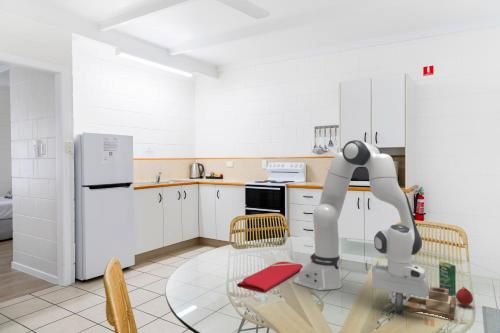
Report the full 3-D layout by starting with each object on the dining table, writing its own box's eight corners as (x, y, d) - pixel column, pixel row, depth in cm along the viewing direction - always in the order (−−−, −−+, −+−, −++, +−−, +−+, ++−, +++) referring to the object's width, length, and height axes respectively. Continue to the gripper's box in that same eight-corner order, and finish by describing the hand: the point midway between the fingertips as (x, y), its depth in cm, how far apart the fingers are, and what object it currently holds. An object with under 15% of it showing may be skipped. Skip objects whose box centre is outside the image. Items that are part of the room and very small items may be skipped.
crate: (425, 311, 138) (426, 291, 138) (428, 305, 145) (428, 285, 145) (449, 316, 134) (449, 295, 134) (450, 309, 141) (451, 289, 140)
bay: (398, 309, 142) (398, 296, 142) (403, 299, 152) (403, 287, 152) (454, 321, 131) (454, 307, 131) (455, 309, 141) (455, 297, 141)
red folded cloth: (236, 287, 167) (236, 279, 167) (278, 266, 202) (278, 259, 202) (265, 294, 159) (265, 285, 159) (303, 271, 193) (303, 264, 193)
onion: (466, 303, 148) (466, 284, 148) (476, 309, 142) (476, 289, 142) (453, 303, 148) (453, 284, 148) (461, 309, 142) (461, 289, 142)
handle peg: (395, 313, 138) (395, 287, 138) (396, 311, 140) (396, 285, 140) (402, 315, 136) (402, 288, 136) (403, 312, 138) (403, 286, 138)
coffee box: (438, 289, 164) (438, 260, 164) (444, 289, 165) (444, 260, 165) (449, 295, 156) (450, 265, 156) (456, 295, 157) (456, 265, 157)
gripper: (370, 265, 141) (369, 300, 141) (427, 274, 130) (427, 312, 130) (373, 262, 146) (373, 295, 146) (429, 270, 135) (429, 306, 135)
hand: (399, 303), depth 138 cm, fingers closed on handle peg, 3 cm apart
